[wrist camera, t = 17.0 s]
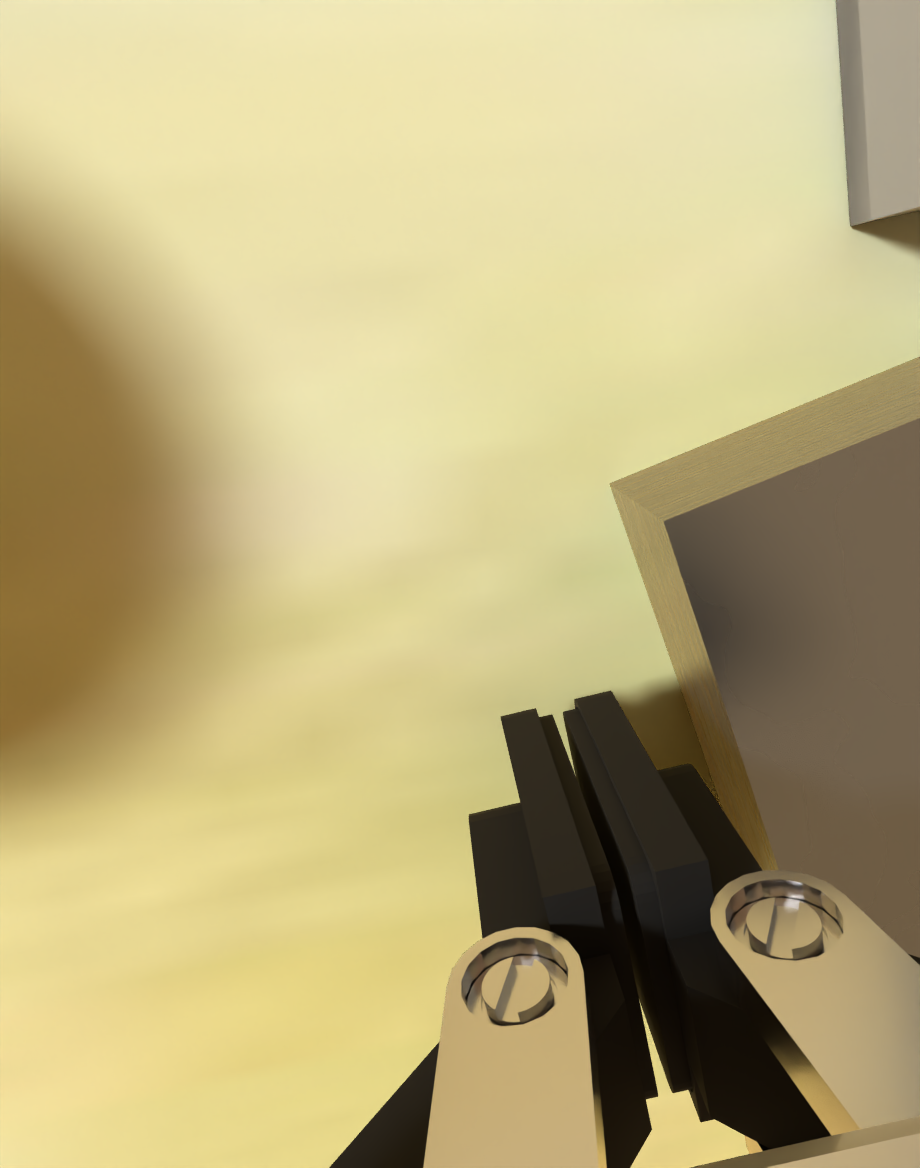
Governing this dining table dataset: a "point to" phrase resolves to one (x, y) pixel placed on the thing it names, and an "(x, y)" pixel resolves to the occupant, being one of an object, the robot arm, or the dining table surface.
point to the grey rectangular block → (802, 631)
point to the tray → (880, 105)
